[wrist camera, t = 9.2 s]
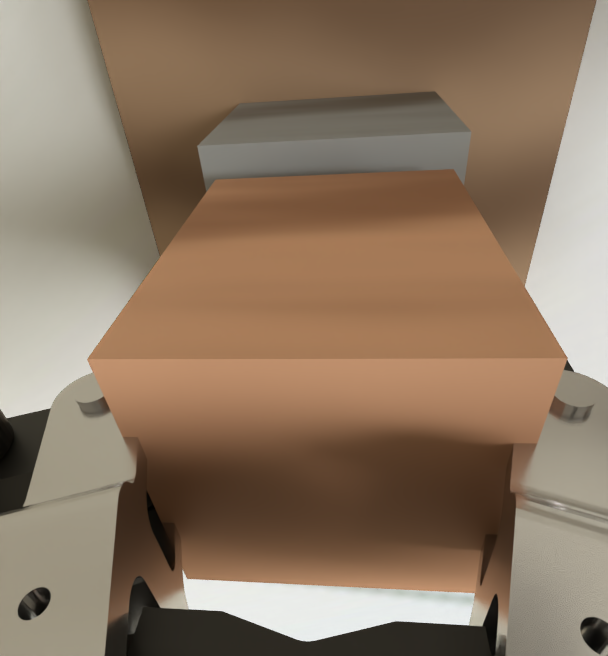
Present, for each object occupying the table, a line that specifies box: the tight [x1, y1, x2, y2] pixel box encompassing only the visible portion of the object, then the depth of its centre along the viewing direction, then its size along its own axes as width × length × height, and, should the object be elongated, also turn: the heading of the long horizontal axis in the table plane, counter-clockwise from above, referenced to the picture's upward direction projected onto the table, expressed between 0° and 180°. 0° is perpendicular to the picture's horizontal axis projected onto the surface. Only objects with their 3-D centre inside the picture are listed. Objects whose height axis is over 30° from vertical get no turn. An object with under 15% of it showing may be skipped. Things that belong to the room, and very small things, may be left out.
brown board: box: [88, 0, 596, 287], centre depth 14 cm, size 20×14×6 cm
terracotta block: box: [87, 169, 568, 593], centre depth 9 cm, size 5×5×6 cm
